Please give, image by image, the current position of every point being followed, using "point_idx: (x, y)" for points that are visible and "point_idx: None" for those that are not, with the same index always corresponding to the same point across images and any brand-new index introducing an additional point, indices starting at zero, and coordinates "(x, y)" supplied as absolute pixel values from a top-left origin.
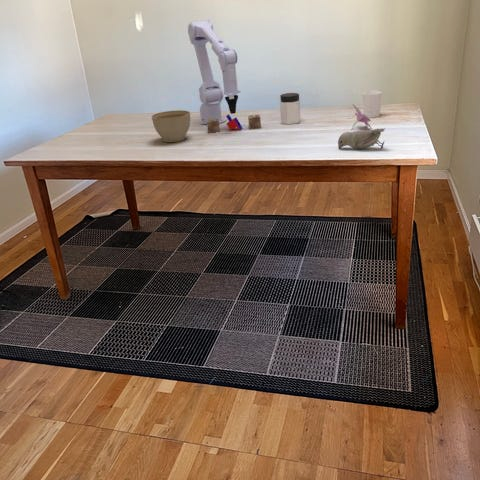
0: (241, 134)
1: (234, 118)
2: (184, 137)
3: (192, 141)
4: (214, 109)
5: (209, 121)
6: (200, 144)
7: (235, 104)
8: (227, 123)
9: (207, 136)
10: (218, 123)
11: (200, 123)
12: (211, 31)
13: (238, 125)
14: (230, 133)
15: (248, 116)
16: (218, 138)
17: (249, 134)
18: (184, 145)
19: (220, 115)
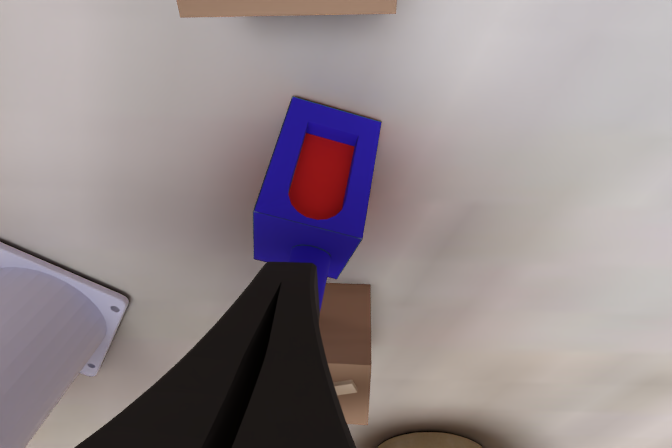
0: (574, 114)
1: (306, 230)
2: (460, 444)
3: (526, 409)
4: (8, 410)
5: (351, 412)
6: (641, 384)
7: (336, 397)
8: (339, 271)
9: (453, 350)
10: (370, 346)
11: (95, 373)
12: None
13: (360, 154)
14: (458, 214)
15: (249, 12)
16: (567, 298)
17: (651, 14)
18: (587, 435)
19: (3, 313)
